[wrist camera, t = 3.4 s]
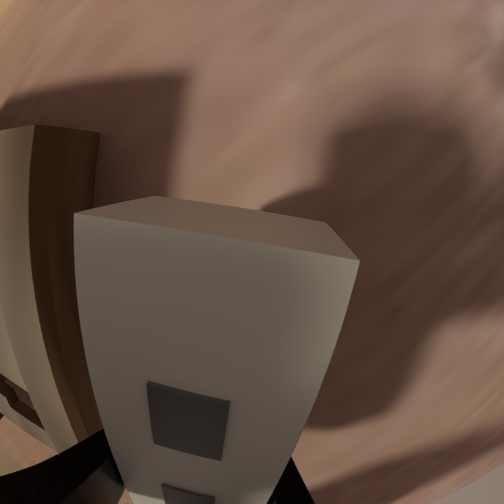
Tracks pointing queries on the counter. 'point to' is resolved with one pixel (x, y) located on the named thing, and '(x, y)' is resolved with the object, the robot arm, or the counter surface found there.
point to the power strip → (206, 340)
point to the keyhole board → (44, 282)
